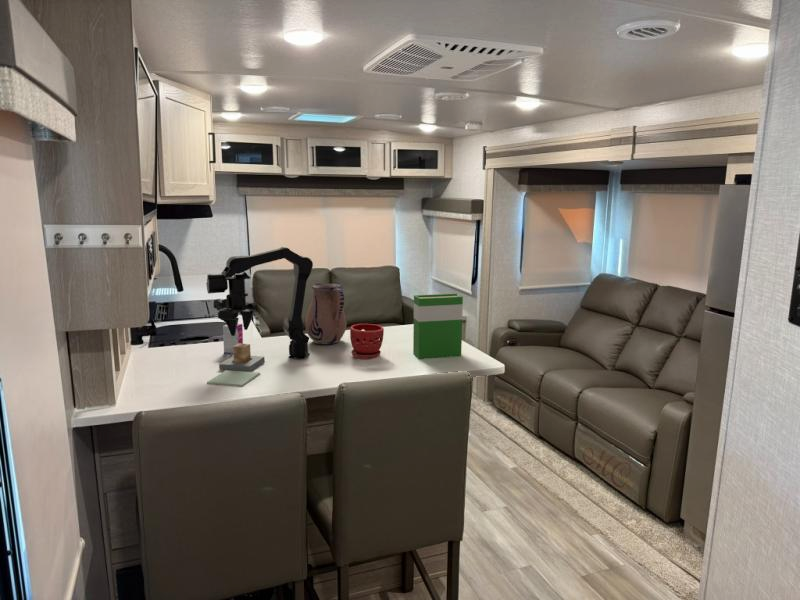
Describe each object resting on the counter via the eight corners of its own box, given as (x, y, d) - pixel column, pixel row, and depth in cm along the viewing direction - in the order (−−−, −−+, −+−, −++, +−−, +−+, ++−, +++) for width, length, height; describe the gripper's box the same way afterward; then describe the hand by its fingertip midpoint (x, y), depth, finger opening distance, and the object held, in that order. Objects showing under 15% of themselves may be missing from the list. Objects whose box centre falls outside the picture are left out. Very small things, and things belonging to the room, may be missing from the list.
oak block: (251, 364, 204) (250, 344, 202) (245, 368, 200) (244, 347, 198) (239, 363, 205) (238, 343, 203) (234, 367, 201) (232, 346, 199)
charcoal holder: (264, 362, 207) (264, 356, 206) (250, 372, 195) (249, 366, 195) (235, 360, 209) (235, 354, 209) (219, 369, 198) (219, 364, 197)
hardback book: (454, 351, 223) (456, 293, 218) (461, 356, 216) (462, 296, 211) (413, 354, 218) (413, 295, 214) (418, 359, 211) (419, 298, 207)
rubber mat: (259, 374, 193) (259, 372, 193) (242, 386, 180) (242, 384, 180) (226, 371, 196) (226, 370, 195) (206, 383, 183) (206, 382, 183)
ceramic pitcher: (327, 334, 248) (326, 280, 243) (361, 342, 235) (360, 285, 230) (297, 342, 235) (295, 285, 230) (331, 351, 222) (330, 290, 217)
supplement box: (237, 354, 217) (235, 326, 214) (223, 353, 218) (221, 325, 216) (244, 350, 222) (242, 323, 220) (230, 349, 223) (229, 322, 221)
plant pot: (363, 363, 206) (363, 332, 204) (344, 355, 216) (343, 326, 214) (390, 356, 215) (390, 327, 212) (370, 349, 224) (370, 321, 222)
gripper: (230, 286, 210) (233, 325, 213) (202, 294, 192) (205, 337, 195) (257, 287, 207) (259, 327, 210) (231, 296, 190) (234, 339, 192)
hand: (239, 332), depth 202 cm, fingers open, 9 cm apart
